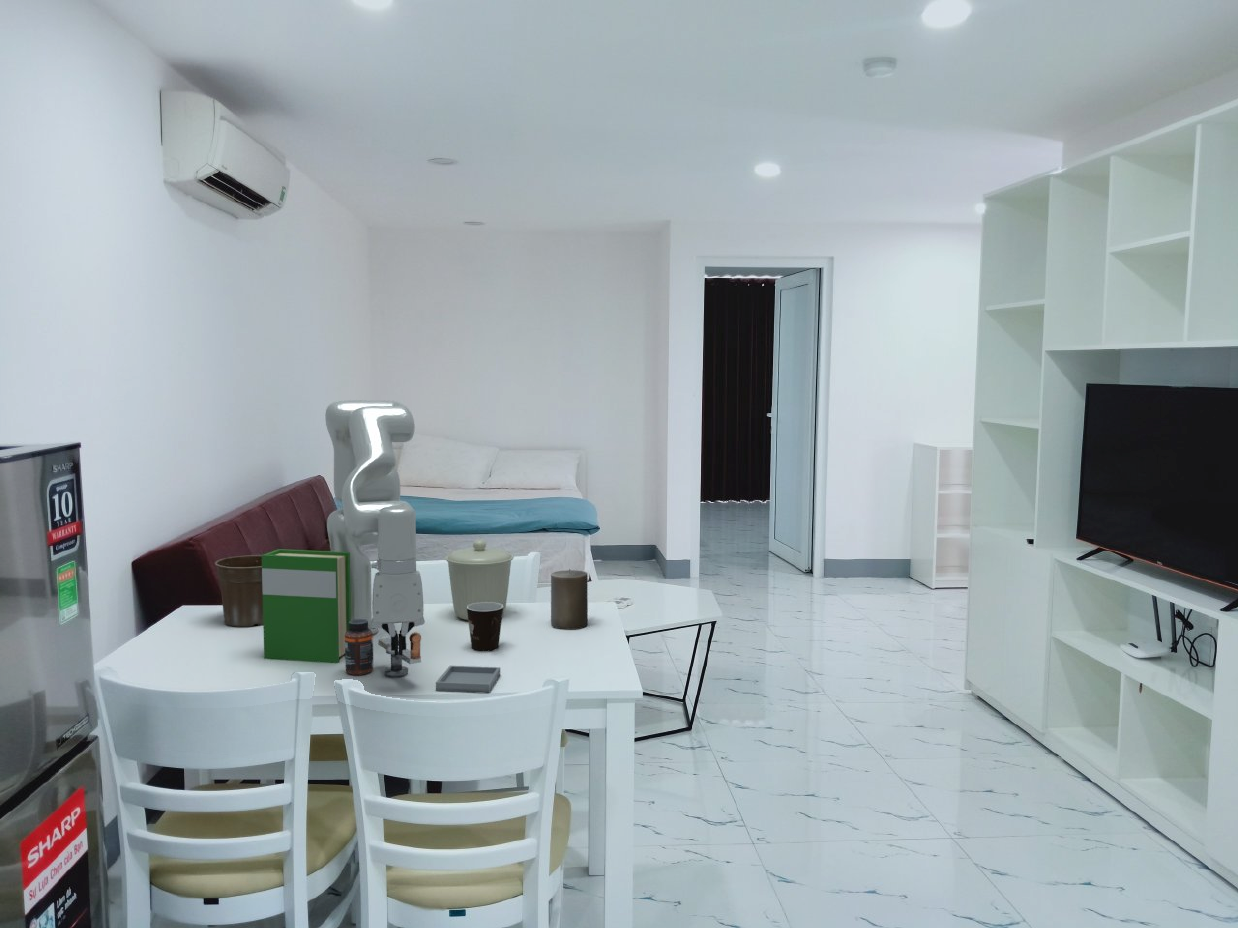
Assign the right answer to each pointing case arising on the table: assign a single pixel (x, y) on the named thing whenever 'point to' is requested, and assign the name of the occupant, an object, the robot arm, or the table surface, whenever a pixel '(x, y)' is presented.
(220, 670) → the table surface
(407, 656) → the crank
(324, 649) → the hardback book
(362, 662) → the supplement bottle
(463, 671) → the tray
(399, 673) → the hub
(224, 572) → the plant pot
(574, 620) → the pillar candle
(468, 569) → the canister
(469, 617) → the coffee mug
